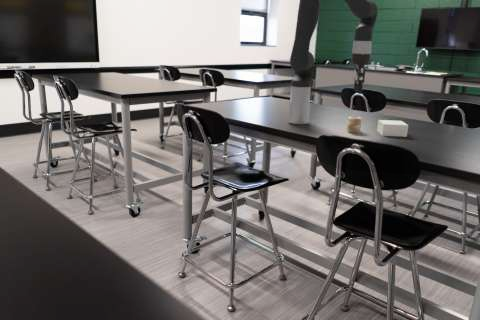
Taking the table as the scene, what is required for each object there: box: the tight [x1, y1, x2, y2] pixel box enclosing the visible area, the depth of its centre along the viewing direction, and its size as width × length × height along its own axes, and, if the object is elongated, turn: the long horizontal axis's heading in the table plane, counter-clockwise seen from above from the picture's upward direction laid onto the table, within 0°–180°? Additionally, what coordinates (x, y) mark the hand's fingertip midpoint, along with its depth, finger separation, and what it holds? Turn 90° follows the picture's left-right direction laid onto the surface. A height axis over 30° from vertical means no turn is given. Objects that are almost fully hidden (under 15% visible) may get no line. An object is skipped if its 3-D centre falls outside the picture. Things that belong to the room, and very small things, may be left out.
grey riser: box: [376, 119, 409, 138], centre depth 172 cm, size 10×10×5 cm
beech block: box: [346, 116, 362, 134], centre depth 174 cm, size 5×5×6 cm
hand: (357, 91), depth 170 cm, fingers open, 8 cm apart
